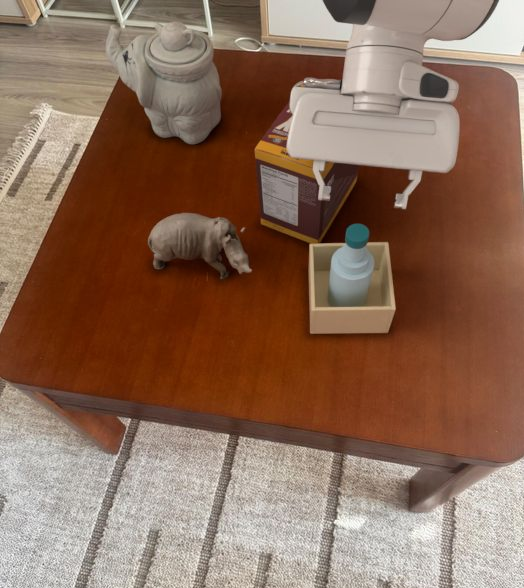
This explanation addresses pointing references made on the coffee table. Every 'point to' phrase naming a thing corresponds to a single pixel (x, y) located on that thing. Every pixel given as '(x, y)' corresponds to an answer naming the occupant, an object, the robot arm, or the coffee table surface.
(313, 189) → the supplement box
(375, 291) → the open box
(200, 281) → the coffee table surface
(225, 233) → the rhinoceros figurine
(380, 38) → the robot arm
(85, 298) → the coffee table surface
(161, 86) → the teapot
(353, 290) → the bottle
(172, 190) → the coffee table surface
